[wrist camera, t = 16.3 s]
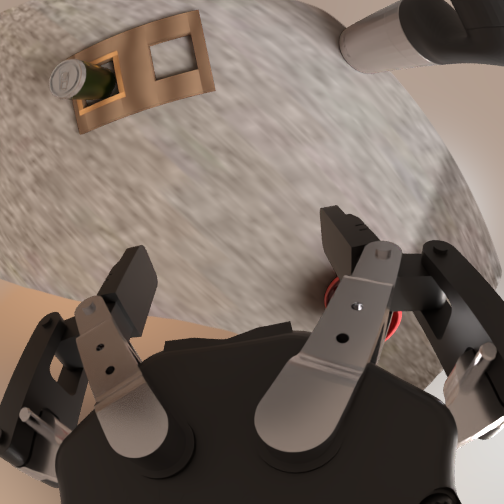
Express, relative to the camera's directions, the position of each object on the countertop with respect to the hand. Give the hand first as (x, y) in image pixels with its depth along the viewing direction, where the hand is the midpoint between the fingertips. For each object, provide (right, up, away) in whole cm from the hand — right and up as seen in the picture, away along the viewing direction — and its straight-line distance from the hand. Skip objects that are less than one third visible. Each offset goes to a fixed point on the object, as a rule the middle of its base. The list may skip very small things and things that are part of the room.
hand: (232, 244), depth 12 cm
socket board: (-16, +27, +20) cm, 37 cm away
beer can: (-22, +26, +20) cm, 39 cm away
